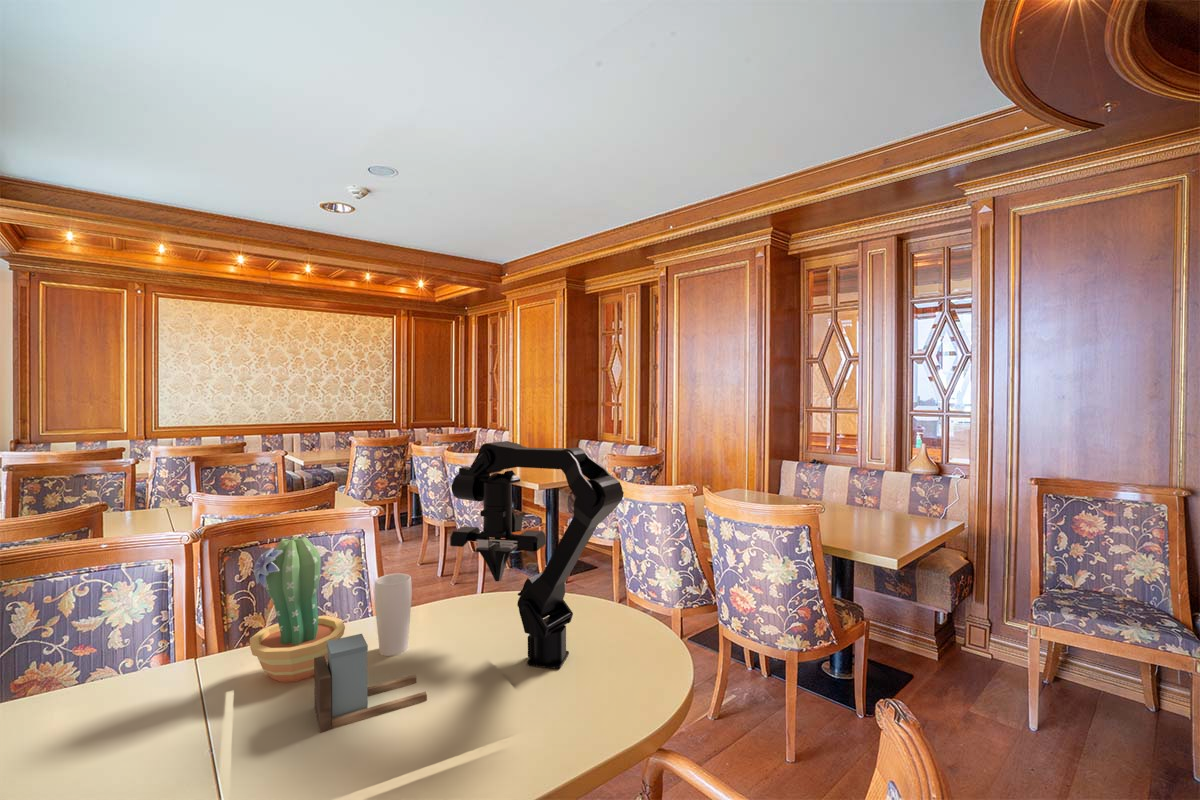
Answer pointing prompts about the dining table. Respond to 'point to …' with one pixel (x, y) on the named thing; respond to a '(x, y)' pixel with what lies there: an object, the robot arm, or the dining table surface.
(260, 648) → the potted cactus
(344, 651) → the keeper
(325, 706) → the track
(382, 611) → the drinking glass
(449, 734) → the dining table surface
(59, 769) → the dining table surface
